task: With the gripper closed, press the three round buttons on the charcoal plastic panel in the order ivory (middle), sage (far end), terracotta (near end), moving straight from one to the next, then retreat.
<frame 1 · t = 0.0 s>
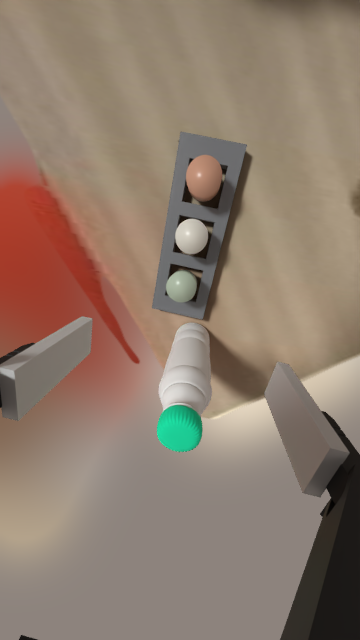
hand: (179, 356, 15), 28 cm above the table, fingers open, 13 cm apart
button sage: (182, 285, 37), point 4 cm above the table, slide at 0.0 cm
button terracotta: (203, 180, 32), point 4 cm above the table, slide at 0.0 cm
water bottle: (192, 336, 45), on the table
panel: (193, 237, 39), on the table
button ivory: (192, 237, 35), point 4 cm above the table, slide at 0.0 cm
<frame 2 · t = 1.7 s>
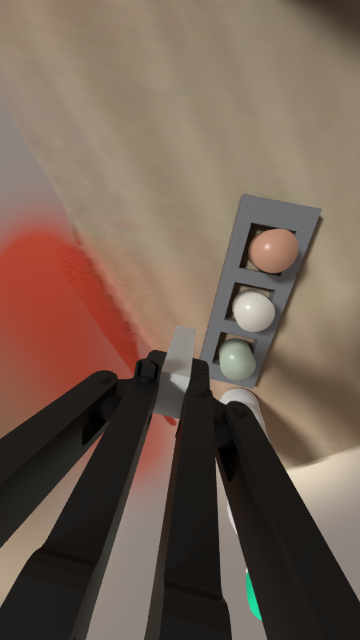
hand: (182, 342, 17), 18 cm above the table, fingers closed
button sage: (236, 358, 33), point 4 cm above the table, slide at 0.0 cm
button terracotta: (271, 250, 27), point 4 cm above the table, slide at 0.0 cm
water bottle: (237, 401, 41), on the table
panel: (246, 302, 34), on the table
button ivory: (251, 309, 30), point 4 cm above the table, slide at 0.0 cm
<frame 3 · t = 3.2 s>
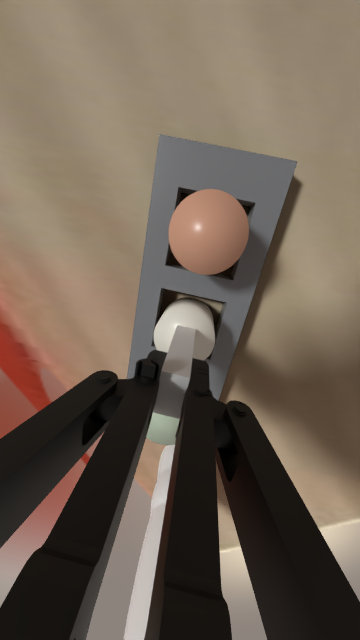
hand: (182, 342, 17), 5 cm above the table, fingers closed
button sage: (168, 407, 21), point 4 cm above the table, slide at 0.0 cm
button terracotta: (207, 235, 15), point 4 cm above the table, slide at 0.0 cm
water bottle: (188, 454, 29), on the table
panel: (188, 318, 22), on the table
button ivory: (185, 329, 19), point 3 cm above the table, slide at 1.2 cm, touching gripper
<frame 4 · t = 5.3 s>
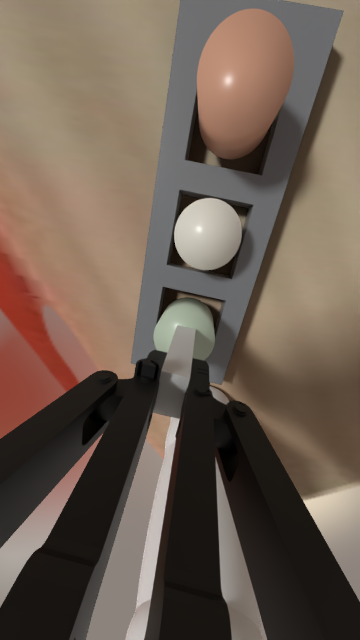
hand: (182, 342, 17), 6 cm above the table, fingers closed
button sage: (185, 330, 19), point 4 cm above the table, slide at 0.4 cm, touching gripper
button terracotta: (238, 99, 13), point 4 cm above the table, slide at 0.0 cm
water bottle: (201, 404, 27), on the table
panel: (207, 237, 20), on the table
button ivory: (207, 236, 18), point 2 cm above the table, slide at 2.0 cm
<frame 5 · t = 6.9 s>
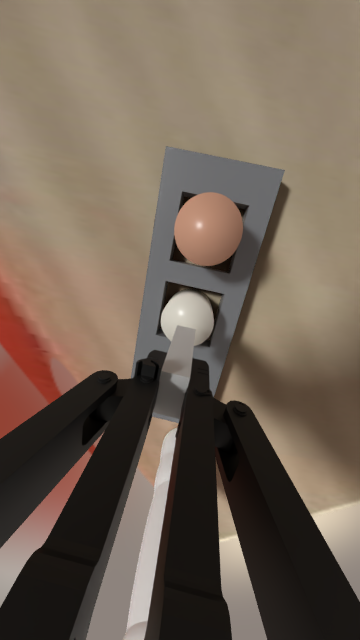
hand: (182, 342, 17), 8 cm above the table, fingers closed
button terracotta: (207, 232, 18), point 4 cm above the table, slide at 0.0 cm
water bottle: (188, 441, 31), on the table
panel: (189, 310, 24), on the table
button ivory: (188, 316, 22), point 2 cm above the table, slide at 2.0 cm
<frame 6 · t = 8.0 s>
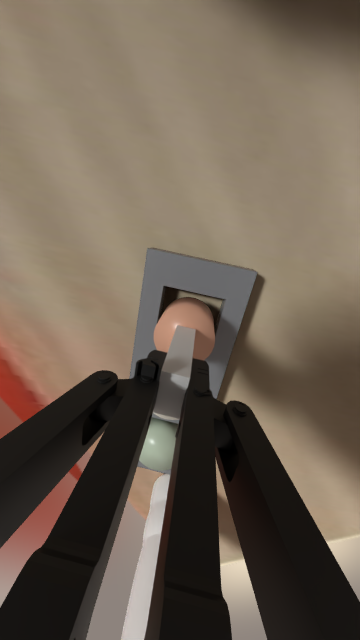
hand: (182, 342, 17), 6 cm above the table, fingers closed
button sage: (160, 440, 27), point 2 cm above the table, slide at 1.9 cm
button terracotta: (186, 329, 19), point 4 cm above the table, slide at 0.1 cm, touching gripper
water bottle: (177, 484, 33), on the table
panel: (175, 376, 26), on the table
button ivory: (172, 388, 24), point 2 cm above the table, slide at 2.0 cm
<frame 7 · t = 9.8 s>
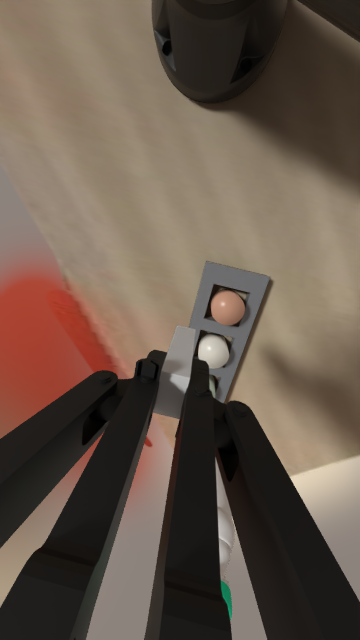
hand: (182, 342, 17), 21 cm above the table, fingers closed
button sage: (201, 387, 40), point 2 cm above the table, slide at 1.9 cm
button terracotta: (226, 306, 35), point 2 cm above the table, slide at 2.0 cm
water bottle: (206, 427, 46), on the table
panel: (212, 344, 40), on the table
button ivory: (213, 349, 37), point 2 cm above the table, slide at 2.0 cm
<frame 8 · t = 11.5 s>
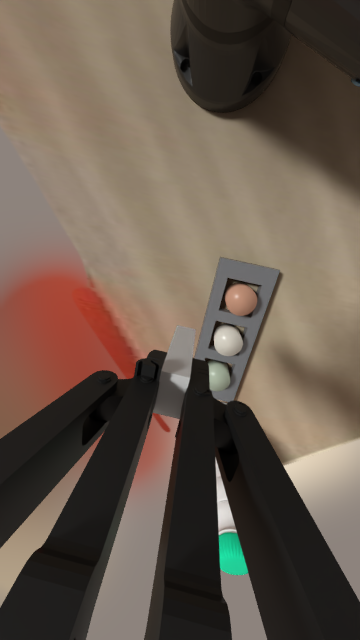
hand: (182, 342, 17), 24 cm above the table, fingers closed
button sage: (216, 374, 43), point 2 cm above the table, slide at 1.9 cm
button terracotta: (239, 298, 38), point 2 cm above the table, slide at 2.0 cm
water bottle: (220, 412, 49), on the table
panel: (226, 334, 43), on the table
button ivory: (227, 339, 41), point 2 cm above the table, slide at 2.0 cm
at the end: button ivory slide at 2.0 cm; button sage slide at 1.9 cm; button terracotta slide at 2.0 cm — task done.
